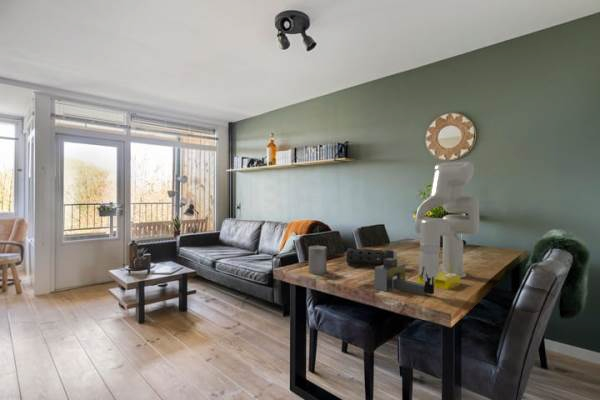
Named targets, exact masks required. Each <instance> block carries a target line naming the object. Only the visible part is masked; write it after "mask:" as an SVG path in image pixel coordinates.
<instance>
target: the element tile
mask: <svg viewBox="0 0 600 400" xmlns="http://www.w3.org/2000/svg"><path fill="white" fill-rule="evenodd" d="M440 271H441V270H439V274H438V275H436V277H435V283H434V288H437V289H443V290H453V289H454V288H456V287H457V286H460V285H461V279H462V278H461V277H460V275H456V274H451V273H446V272H440ZM417 283H421V284H425V283H424V281H423V276H421V277H420V276H419V274H418V275H417Z"/></svg>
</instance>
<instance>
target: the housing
mask: <svg viewBox="0 0 600 400" xmlns="http://www.w3.org/2000/svg"><path fill="white" fill-rule="evenodd" d="M393 275H395V276H397V278H398V279H402V280H406V263H400V262H398V258H397V259H394V258H387V259H384V265H382V266H374V289H375V290H379V291H383V292H389V291H392V290H394V289H393Z"/></svg>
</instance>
